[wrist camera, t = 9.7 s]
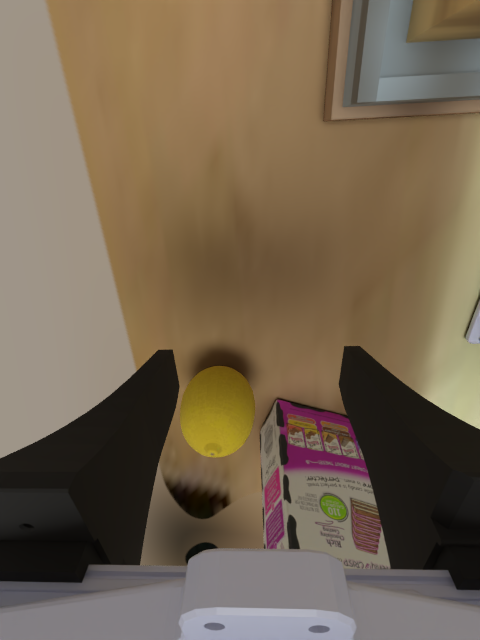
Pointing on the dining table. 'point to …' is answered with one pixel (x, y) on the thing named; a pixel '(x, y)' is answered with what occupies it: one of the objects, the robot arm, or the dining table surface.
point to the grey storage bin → (395, 66)
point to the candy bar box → (318, 488)
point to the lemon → (217, 411)
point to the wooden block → (444, 20)
